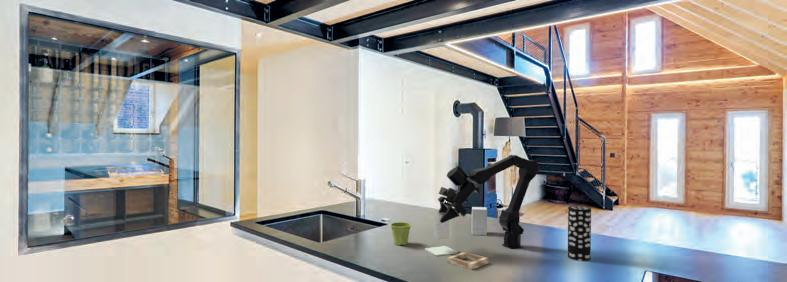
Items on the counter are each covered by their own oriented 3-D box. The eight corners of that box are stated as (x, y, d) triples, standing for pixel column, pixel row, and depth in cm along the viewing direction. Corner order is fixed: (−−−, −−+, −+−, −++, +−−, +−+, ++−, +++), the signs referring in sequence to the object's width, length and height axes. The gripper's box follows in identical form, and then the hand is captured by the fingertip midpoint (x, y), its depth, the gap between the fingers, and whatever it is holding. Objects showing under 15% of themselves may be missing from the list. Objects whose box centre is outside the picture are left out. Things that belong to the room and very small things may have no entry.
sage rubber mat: (445, 247, 173) (445, 245, 173) (457, 253, 164) (457, 252, 164) (424, 249, 169) (425, 248, 169) (436, 256, 160) (436, 254, 160)
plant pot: (403, 247, 171) (403, 227, 171) (385, 244, 177) (386, 224, 177) (415, 243, 179) (415, 224, 179) (398, 239, 184) (398, 221, 184)
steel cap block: (444, 235, 169) (444, 212, 169) (448, 238, 164) (449, 214, 164) (434, 236, 168) (434, 212, 168) (438, 239, 163) (438, 215, 163)
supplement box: (486, 235, 193) (487, 209, 193) (471, 234, 195) (471, 209, 195) (486, 232, 201) (486, 207, 200) (471, 231, 202) (471, 206, 202)
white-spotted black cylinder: (588, 255, 162) (589, 206, 161) (591, 262, 154) (592, 210, 153) (566, 253, 164) (567, 205, 164) (568, 259, 156) (569, 209, 156)
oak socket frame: (464, 256, 159) (464, 251, 159) (488, 263, 151) (488, 257, 151) (447, 262, 152) (447, 257, 152) (471, 269, 144) (471, 264, 144)
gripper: (442, 178, 176) (418, 204, 173) (460, 183, 158) (433, 212, 155) (458, 195, 178) (435, 221, 175) (477, 201, 160) (452, 230, 157)
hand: (438, 220), depth 166 cm, fingers closed on steel cap block, 5 cm apart
